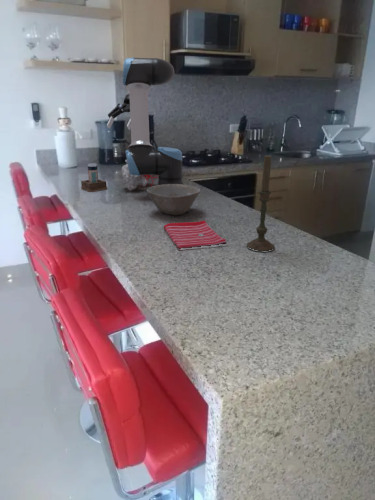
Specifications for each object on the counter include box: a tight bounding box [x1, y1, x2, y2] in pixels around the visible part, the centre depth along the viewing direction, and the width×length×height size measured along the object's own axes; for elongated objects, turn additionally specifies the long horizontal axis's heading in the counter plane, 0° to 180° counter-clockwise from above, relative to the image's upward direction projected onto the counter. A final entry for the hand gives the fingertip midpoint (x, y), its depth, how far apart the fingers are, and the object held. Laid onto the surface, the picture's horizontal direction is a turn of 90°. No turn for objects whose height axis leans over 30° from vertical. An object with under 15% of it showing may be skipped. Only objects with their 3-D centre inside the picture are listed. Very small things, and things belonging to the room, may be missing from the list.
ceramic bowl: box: [146, 184, 201, 216], centre depth 163 cm, size 22×23×10 cm
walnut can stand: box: [80, 178, 108, 193], centre depth 205 cm, size 10×10×4 cm
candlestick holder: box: [246, 155, 276, 251], centre depth 121 cm, size 9×9×30 cm
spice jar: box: [87, 162, 99, 183], centre depth 203 cm, size 5×5×12 cm
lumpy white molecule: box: [121, 159, 158, 192], centre depth 208 cm, size 20×18×25 cm
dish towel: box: [163, 220, 227, 250], centre depth 136 cm, size 17×24×3 cm
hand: (118, 127), depth 217 cm, fingers open, 13 cm apart
